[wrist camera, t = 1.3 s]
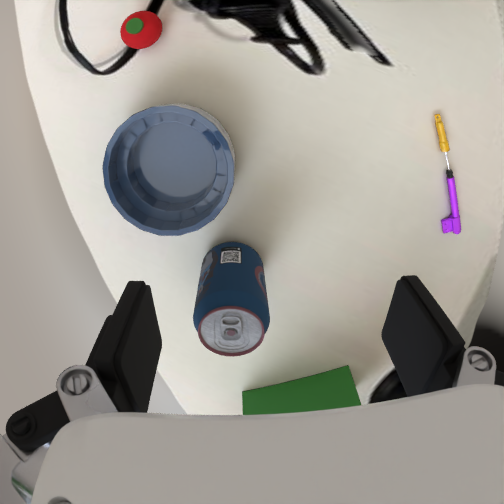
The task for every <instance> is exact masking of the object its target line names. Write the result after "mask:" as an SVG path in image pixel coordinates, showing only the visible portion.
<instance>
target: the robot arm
mask: <svg viewBox="0 0 504 504" xmlns="http://www.w3.org/2000/svg"><path fill="white" fill-rule="evenodd" d="M382 340H383V342H384V345H385V347H386V349H387V351H388V353H389V355H390V357H391V360H392V362H393V364H394V366H395V368H396V371H397V373H398V375H399V377H400V380H401V382H402V384H403V386H404V389H405V391H406V393H407V396H408V397H406V398H401V399H396V400H390V401H385V402H379V403H373V404H366V405H360V406H352V407H345V408H337V409H329V410H319V411H309V412H297V413H282V414H263V415H182V414H161V413H160V414H159V413H147V410H148V405H149V401H150V396H151V391H152V387H153V382H154V378H155V374H156V369H157V365H158V361H159V356H160V352H161V348H162V339H161V334H160V330H159V326H158V321H157V317H156V312H155V307H154V303H153V298H152V293H151V288H150V286H149V285H146V284H145V282H144V281H129V282H128V283H127V285H126V288H125V290H124V292H123V294H122V296H121V298H120V300H119V302H118V304H117V306H116V309H115V311H114V313H113V315H109V316H108V317H107V318H106V320H105V322H104V325H103V327H102V329H101V331H100V333H99V335H98V338H97V340H96V342H95V344H94V347H93V349H92V351H91V353H90V356H89V358H88V361H87V363H86V365H75V366H72V367H69V368H67V369H66V370H64V371H63V372H62V373H61V374H60V375H59V377H58V379H57V383H56V388H57V391H55V392H53V393H51V394H49V395H47V396H46V397H44V398H42V399H40V400H38V401H36V402H34V403H32V404H30V405H28V406H26V407H25V408H23V409H21V410H19V411H17V412H15V413H14V414H13V415H12V416H11V417H10V418H9V420H8V422H7V424H6V434H5V435H4V436H1V434H0V504H504V373H502V372H500V371H497V370H496V362H495V359H494V357H493V356H492V355H491V353H489V352H488V351H487V350H485V349H483V348H481V347H470V348H468V349H467V350H466V349H465V348H464V345H465V341H464V340H463V338H462V337H461V335H460V334H459V332H458V331H457V330H456V328H455V327H454V325H453V324H452V322H451V321H450V320H449V318H448V317H447V315H446V314H445V313H444V311H443V310H442V308H441V307H440V306H439V304H438V303H437V302H436V300H435V299H434V298H433V296H432V295H431V294H430V292H429V291H428V290H427V288H426V287H425V286H424V285H423V283H422V282H421V281H420V279H419V278H418V277H417V276H415V275H412V276H402V277H401V279H400V280H398V281H397V283H396V287H395V290H394V294H393V297H392V301H391V304H390V307H389V311H388V314H387V317H386V320H385V323H384V326H383V329H382Z"/></svg>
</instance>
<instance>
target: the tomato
mask: <svg viewBox="0 0 504 504" xmlns="http://www.w3.org/2000/svg"><path fill="white" fill-rule="evenodd" d="M120 32H121V38H122V40H123V42H124V43H125V44H126V45H127V46H129V47H131V48H135V49H143V48H147V47H149V46H151V45H152V44H154V43H155V42H156V41H157V40H158V39H159V37H160V35H161V32H162V23H161V20H160V19H159V17H158V16H157V15H156V14H154V13H152V12H149V11H139V12H135V13H133V14H131V15H130V16H128V17H127V18H126V19H125V21H124V22H123V24H122V26H121V31H120Z"/></svg>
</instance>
